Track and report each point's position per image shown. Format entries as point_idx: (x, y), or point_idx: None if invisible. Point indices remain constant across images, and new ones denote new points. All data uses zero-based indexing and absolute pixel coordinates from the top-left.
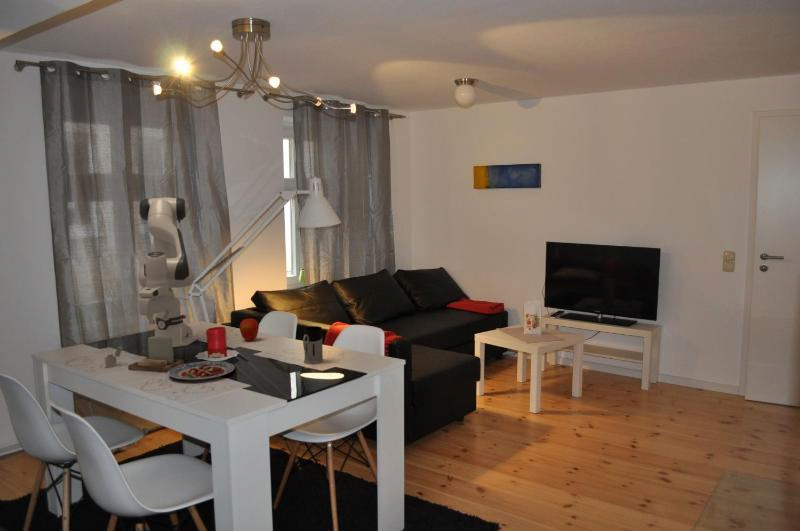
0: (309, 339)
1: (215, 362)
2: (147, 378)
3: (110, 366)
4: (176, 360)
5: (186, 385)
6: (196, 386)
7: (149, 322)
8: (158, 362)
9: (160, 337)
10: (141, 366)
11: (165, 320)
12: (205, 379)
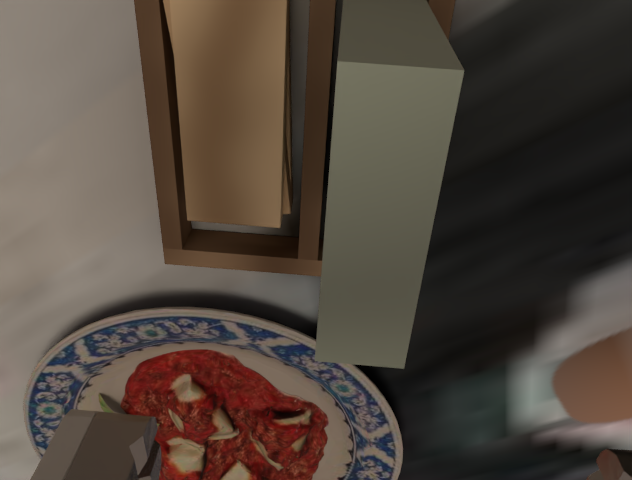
0: None
1: (378, 460)
2: (9, 199)
3: None
4: None
5: (21, 436)
6: (32, 472)
7: (54, 446)
8: (203, 195)
9: (399, 235)
10: (139, 39)
11: (589, 476)
12: None
